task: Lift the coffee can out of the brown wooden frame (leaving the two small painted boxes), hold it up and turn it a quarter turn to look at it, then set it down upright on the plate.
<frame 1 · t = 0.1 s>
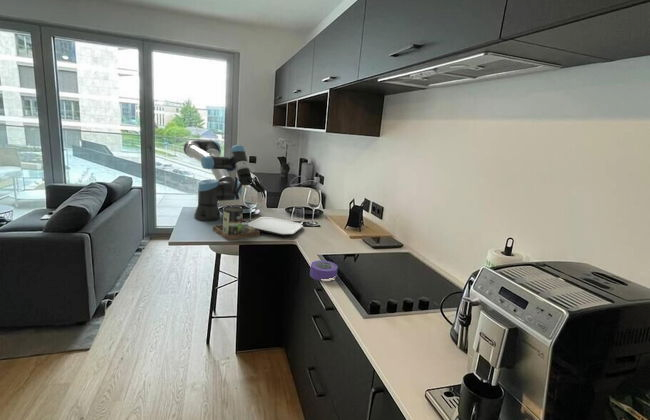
hand: (251, 203, 194), 15 cm above the worktop, tool tilted 35°, fingers open, 13 cm apart
tape roll: (323, 276, 148), on the worktop
coffee can: (231, 233, 187), resting in brown wooden frame
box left: (242, 230, 195), resting in brown wooden frame
box right: (249, 234, 189), resting in brown wooden frame
brown wooden frame: (236, 232, 188), on the worktop
plate: (275, 228, 203), on the worktop, touching brown wooden frame
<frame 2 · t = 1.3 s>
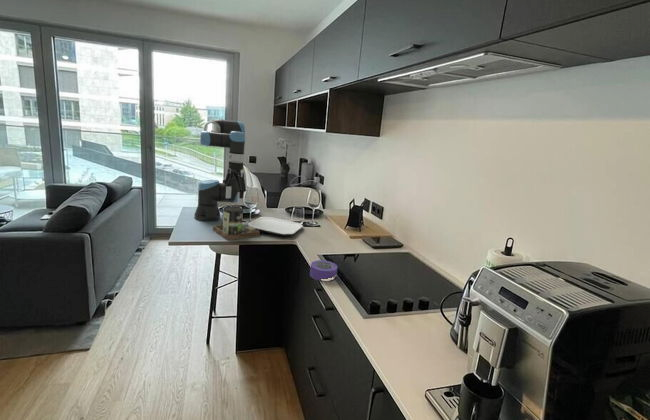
hand: (233, 201, 182), 18 cm above the worktop, tool pointing down, fingers open, 13 cm apart
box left: (242, 230, 195), resting in brown wooden frame, touching plate
plate: (275, 228, 203), on the worktop, touching brown wooden frame, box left
everything else where it was.
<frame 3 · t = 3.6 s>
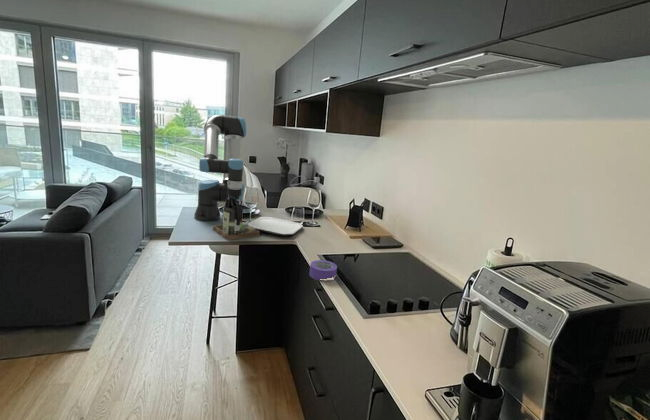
hand: (232, 227, 186), 3 cm above the worktop, tool pointing down, fingers closed on coffee can, 10 cm apart
coffee can: (231, 233, 187), resting in brown wooden frame, touching gripper
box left: (242, 230, 195), resting in brown wooden frame
plate: (275, 228, 203), on the worktop, touching brown wooden frame
everything else where it was.
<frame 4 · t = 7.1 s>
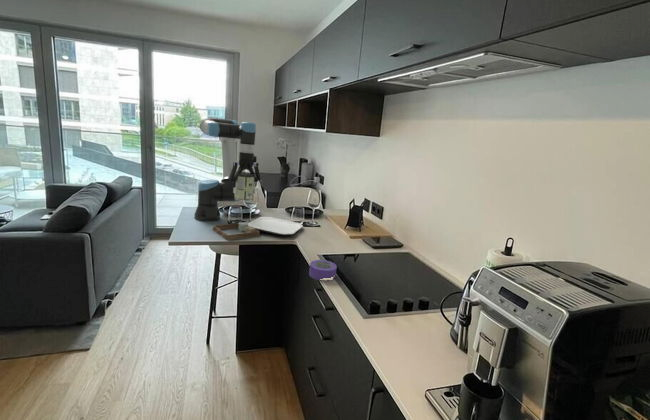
hand: (244, 193, 185), 23 cm above the worktop, tool pointing down, fingers closed on coffee can, 10 cm apart
coffee can: (243, 199, 186), point 19 cm above the worktop, touching gripper
everything else where it was.
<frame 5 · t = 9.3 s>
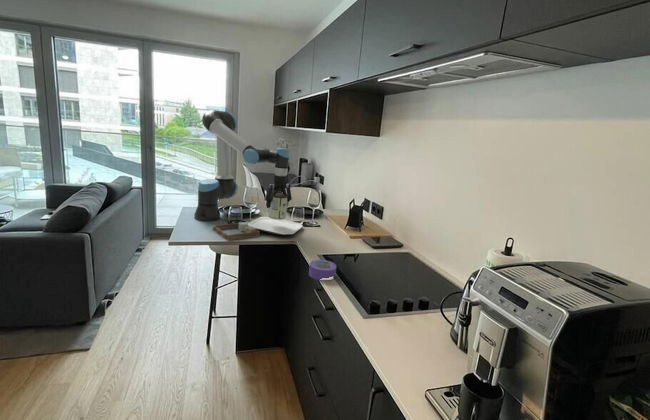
hand: (277, 212, 201), 11 cm above the worktop, tool pointing down, fingers closed on coffee can, 10 cm apart
coffee can: (276, 217, 202), point 7 cm above the worktop, touching gripper
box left: (242, 230, 195), resting in brown wooden frame, touching plate
plate: (275, 228, 203), on the worktop, touching brown wooden frame, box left
everything else where it was.
when the fingers open (7 cm above the worktop, at t = 11.0 s): coffee can stays where it is, resting on plate.
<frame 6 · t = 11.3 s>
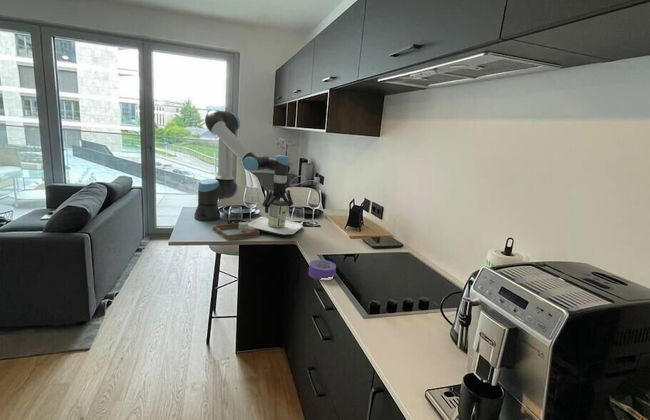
hand: (276, 217, 202), 8 cm above the worktop, tool pointing down, fingers open, 13 cm apart
coffee can: (276, 225, 203), point 3 cm above the worktop, touching plate
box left: (242, 230, 195), resting in brown wooden frame
plate: (275, 228, 203), on the worktop, touching brown wooden frame, coffee can
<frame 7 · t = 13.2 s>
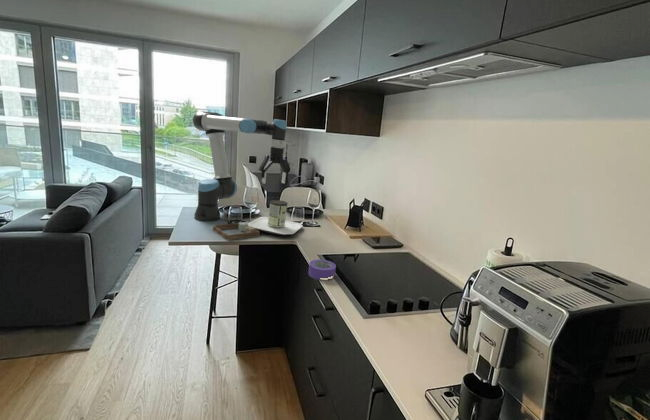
hand: (273, 183, 200), 27 cm above the worktop, tool pointing down, fingers open, 13 cm apart
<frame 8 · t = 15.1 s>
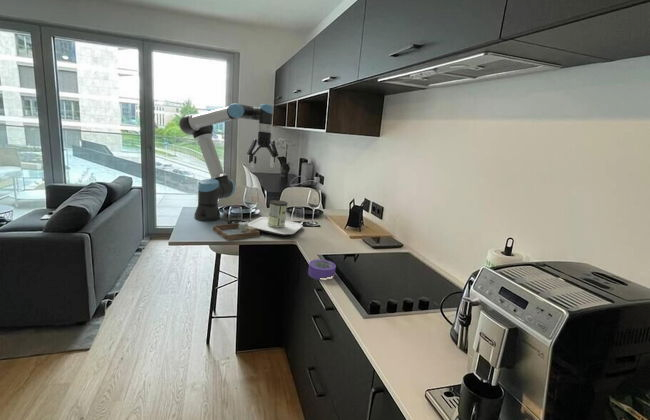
hand: (262, 167, 205), 35 cm above the worktop, tool pointing down, fingers open, 13 cm apart
at the end: coffee can inside the target area on the plate (0.4 cm from its centre), point 2.2 cm above the plate's base; coffee can tilted 2°; the gripper is holding nothing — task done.
